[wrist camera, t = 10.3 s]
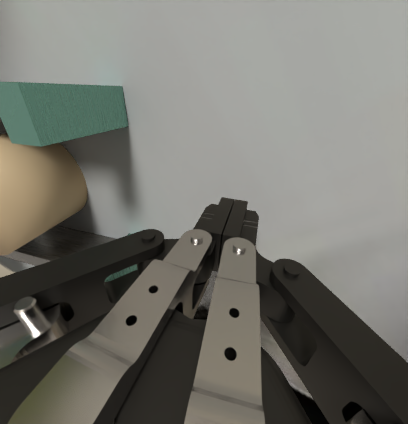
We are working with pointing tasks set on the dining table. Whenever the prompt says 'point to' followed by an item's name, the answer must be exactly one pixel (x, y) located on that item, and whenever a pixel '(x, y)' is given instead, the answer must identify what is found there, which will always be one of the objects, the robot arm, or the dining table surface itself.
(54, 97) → the holder
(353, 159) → the dining table surface
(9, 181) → the beige round fruit
